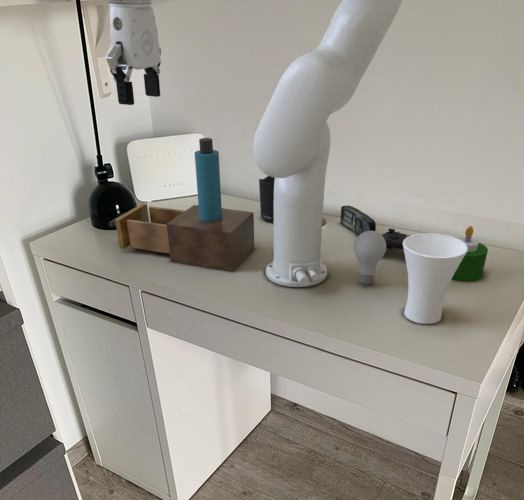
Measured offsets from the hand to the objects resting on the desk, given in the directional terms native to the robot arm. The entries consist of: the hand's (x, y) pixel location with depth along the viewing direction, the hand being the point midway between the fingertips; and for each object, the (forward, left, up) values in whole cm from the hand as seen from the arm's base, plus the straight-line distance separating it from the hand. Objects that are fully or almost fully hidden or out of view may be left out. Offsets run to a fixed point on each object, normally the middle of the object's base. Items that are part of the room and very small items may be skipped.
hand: (140, 100), depth 108 cm
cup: (-44, -43, -31) cm, 69 cm away
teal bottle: (-8, -11, -23) cm, 26 cm away
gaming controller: (-20, -50, -31) cm, 63 cm away
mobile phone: (-4, -48, -31) cm, 57 cm away
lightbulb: (-30, -38, -31) cm, 58 cm away
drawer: (+1, +1, -30) cm, 30 cm away
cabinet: (-8, -11, -31) cm, 34 cm away
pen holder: (+11, -31, -31) cm, 46 cm away
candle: (-30, -59, -31) cm, 74 cm away
